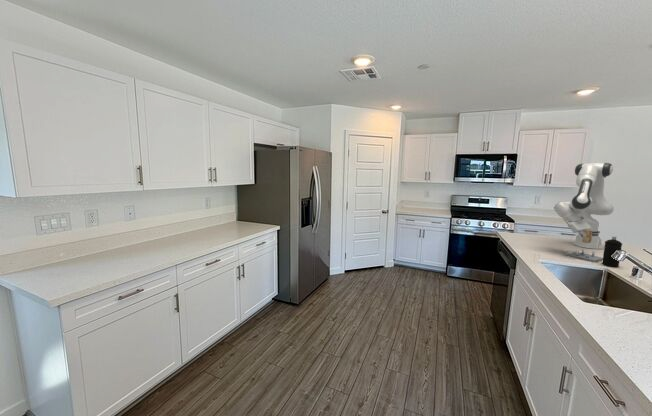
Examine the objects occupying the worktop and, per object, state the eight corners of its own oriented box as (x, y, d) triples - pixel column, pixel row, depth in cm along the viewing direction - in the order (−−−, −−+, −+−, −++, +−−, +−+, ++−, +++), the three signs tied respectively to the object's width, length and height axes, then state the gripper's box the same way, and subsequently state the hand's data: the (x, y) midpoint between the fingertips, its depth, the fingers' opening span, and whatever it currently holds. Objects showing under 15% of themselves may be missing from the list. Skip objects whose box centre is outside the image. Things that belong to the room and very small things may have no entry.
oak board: (585, 241, 199) (587, 229, 197) (590, 242, 196) (592, 230, 195) (582, 242, 197) (583, 230, 195) (587, 243, 194) (589, 230, 193)
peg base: (575, 253, 208) (576, 247, 208) (604, 260, 193) (605, 253, 192) (565, 255, 203) (566, 249, 202) (595, 262, 187) (596, 255, 187)
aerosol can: (616, 268, 176) (620, 238, 174) (599, 264, 183) (603, 236, 181) (621, 266, 180) (625, 237, 177) (604, 262, 187) (608, 234, 185)
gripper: (570, 219, 196) (585, 234, 189) (584, 217, 204) (599, 232, 197) (562, 224, 201) (576, 239, 193) (576, 222, 209) (591, 236, 202)
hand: (588, 235), depth 195 cm, fingers closed on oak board, 5 cm apart
